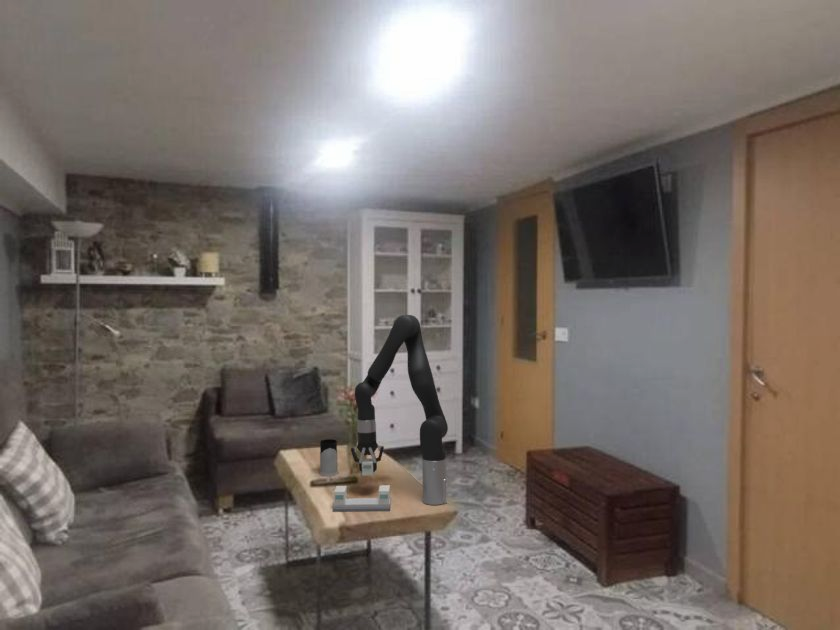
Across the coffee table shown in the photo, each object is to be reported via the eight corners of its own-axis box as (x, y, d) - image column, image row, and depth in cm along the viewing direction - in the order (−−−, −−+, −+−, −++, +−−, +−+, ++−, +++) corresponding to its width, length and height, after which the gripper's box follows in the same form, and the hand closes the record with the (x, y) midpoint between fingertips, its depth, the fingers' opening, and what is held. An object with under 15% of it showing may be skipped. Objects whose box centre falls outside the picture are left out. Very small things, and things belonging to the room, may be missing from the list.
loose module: (374, 470, 248) (373, 458, 248) (373, 475, 240) (372, 463, 240) (363, 470, 248) (363, 458, 247) (362, 475, 240) (361, 463, 240)
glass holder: (320, 477, 269) (320, 444, 269) (316, 468, 283) (316, 437, 282) (339, 475, 272) (339, 442, 271) (335, 466, 285) (334, 435, 285)
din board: (391, 500, 238) (390, 483, 237) (389, 511, 226) (389, 493, 225) (336, 500, 237) (336, 484, 237) (332, 511, 225) (332, 494, 225)
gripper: (384, 427, 247) (386, 468, 248) (350, 428, 247) (351, 469, 248) (383, 431, 240) (385, 473, 240) (348, 432, 240) (349, 474, 240)
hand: (368, 471), depth 244 cm, fingers closed on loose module, 4 cm apart
